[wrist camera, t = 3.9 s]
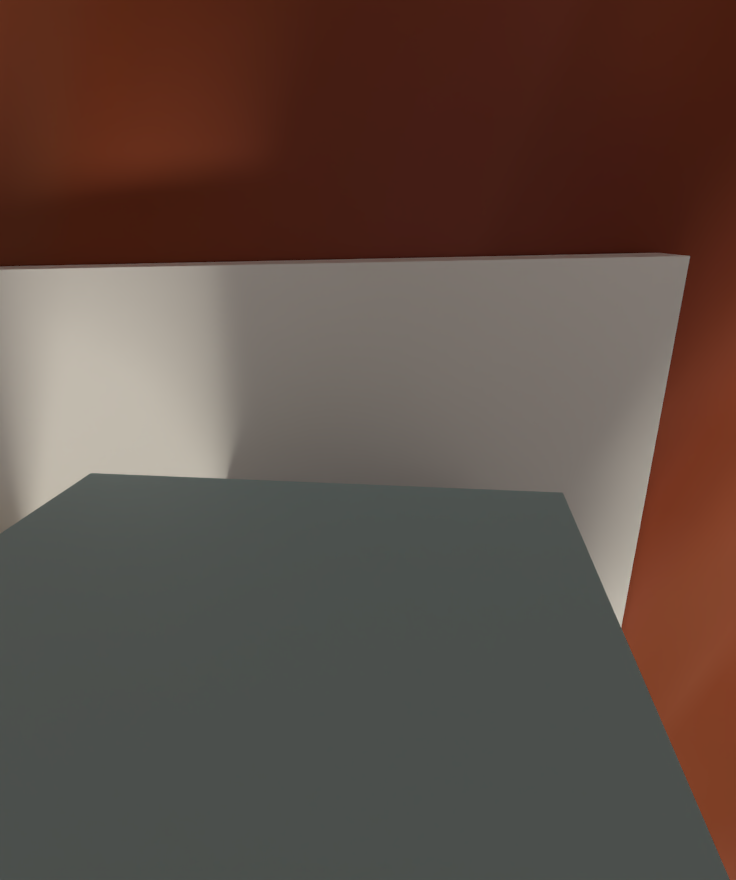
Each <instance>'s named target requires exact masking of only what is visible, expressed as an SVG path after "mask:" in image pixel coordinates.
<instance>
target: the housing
mask: <svg viewBox="0 0 736 880" xmlns="http://www.w3.org/2000/svg"><path fill="white" fill-rule="evenodd" d="M0 880H730V879H729V877H728V875H727V872H726V870H725V868H724V866H723V863H722V861H721V859H720V856H719V854H718V852H717V849H716V847H715V845H714V842H713V840H712V838H711V835H710V833H709V831H708V828H707V826H706V824H705V821H704V819H703V817H702V814H701V812H700V810H699V808H698V805H697V803H696V801H695V798H694V796H693V794H692V791H691V789H690V787H689V784H688V782H687V780H686V777H685V775H684V773H683V770H682V768H681V766H680V763H679V761H678V759H677V756H676V754H675V752H674V750H673V747H672V745H671V743H670V740H669V738H668V736H667V733H666V731H665V729H664V726H663V724H662V722H661V719H660V717H659V715H658V712H657V710H656V708H655V705H654V703H653V701H652V698H651V696H650V694H649V691H648V689H647V687H646V685H645V682H644V680H643V678H642V675H641V673H640V671H639V668H638V666H637V664H636V661H635V659H634V657H633V654H632V652H631V650H630V647H629V645H628V643H627V640H626V638H625V636H624V633H623V631H622V629H621V627H620V624H619V622H618V620H617V617H616V615H615V613H614V610H613V608H612V606H611V603H610V601H609V599H608V596H607V594H606V592H605V589H604V587H603V585H602V582H601V580H600V578H599V575H598V573H597V571H596V569H595V566H594V564H593V562H592V559H591V557H590V555H589V552H588V550H587V548H586V545H585V543H584V541H583V538H582V536H581V534H580V531H579V529H578V527H577V524H576V522H575V520H574V517H573V515H572V513H571V510H570V508H569V506H568V504H567V501H566V499H565V497H564V494H563V493H561V492H537V491H512V490H488V489H464V488H440V487H416V486H391V485H367V484H343V483H319V482H295V481H270V480H246V479H222V478H198V477H174V476H150V475H125V474H101V473H90V474H89V475H87V476H86V477H84V478H83V479H81V480H80V481H78V482H77V483H75V484H74V485H72V486H71V487H69V488H68V489H66V490H65V491H63V492H62V493H60V494H59V495H57V496H56V497H54V498H53V499H51V500H50V501H48V502H47V503H45V504H44V505H42V506H41V507H39V508H38V509H36V510H35V511H33V512H32V513H30V514H29V515H27V516H26V517H24V518H23V519H21V520H20V521H18V522H17V523H15V524H14V525H12V526H11V527H9V528H8V529H6V530H5V531H3V532H2V533H0Z"/></svg>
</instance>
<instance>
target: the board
mask: <svg viewBox="0 0 736 880" xmlns="http://www.w3.org/2000/svg"><path fill="white" fill-rule="evenodd" d="M689 260H690V256H686V255H676V254H666V253H618V254H570V255H523V256H475V257H427V258H379V259H331V260H283V261H236V262H188V263H140V264H92V265H44V266H0V533H2V532H3V531H5V530H6V529H8V528H9V527H11V526H12V525H14V524H15V523H17V522H18V521H20V520H21V519H23V518H24V517H26V516H27V515H29V514H30V513H32V512H33V511H35V510H36V509H38V508H39V507H41V506H42V505H44V504H45V503H47V502H48V501H50V500H51V499H53V498H54V497H56V496H57V495H59V494H60V493H62V492H63V491H65V490H66V489H68V488H69V487H71V486H72V485H74V484H75V483H77V482H78V481H80V480H81V479H83V478H84V477H86V476H87V475H89V474H90V473H101V474H125V475H150V476H174V477H198V478H222V479H246V480H270V481H295V482H319V483H343V484H367V485H391V486H416V487H440V488H464V489H488V490H512V491H537V492H561V493H563V494H564V497H565V499H566V501H567V504H568V506H569V508H570V510H571V513H572V515H573V517H574V520H575V522H576V524H577V527H578V529H579V531H580V534H581V536H582V538H583V541H584V543H585V545H586V548H587V550H588V552H589V555H590V557H591V559H592V562H593V564H594V566H595V569H596V571H597V573H598V575H599V578H600V580H601V582H602V585H603V587H604V589H605V592H606V594H607V596H608V599H609V601H610V603H611V606H612V608H613V610H614V613H615V615H616V617H617V620H618V622H619V624H620V627H621V626H622V620H623V615H624V610H625V604H626V599H627V593H628V588H629V583H630V577H631V572H632V566H633V561H634V556H635V550H636V545H637V540H638V534H639V529H640V523H641V518H642V513H643V507H644V502H645V497H646V491H647V486H648V480H649V475H650V470H651V464H652V459H653V453H654V448H655V443H656V437H657V432H658V427H659V421H660V416H661V410H662V405H663V400H664V394H665V389H666V383H667V378H668V373H669V367H670V362H671V357H672V351H673V346H674V340H675V335H676V330H677V324H678V319H679V314H680V308H681V303H682V297H683V292H684V287H685V281H686V276H687V270H688V265H689Z"/></svg>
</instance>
